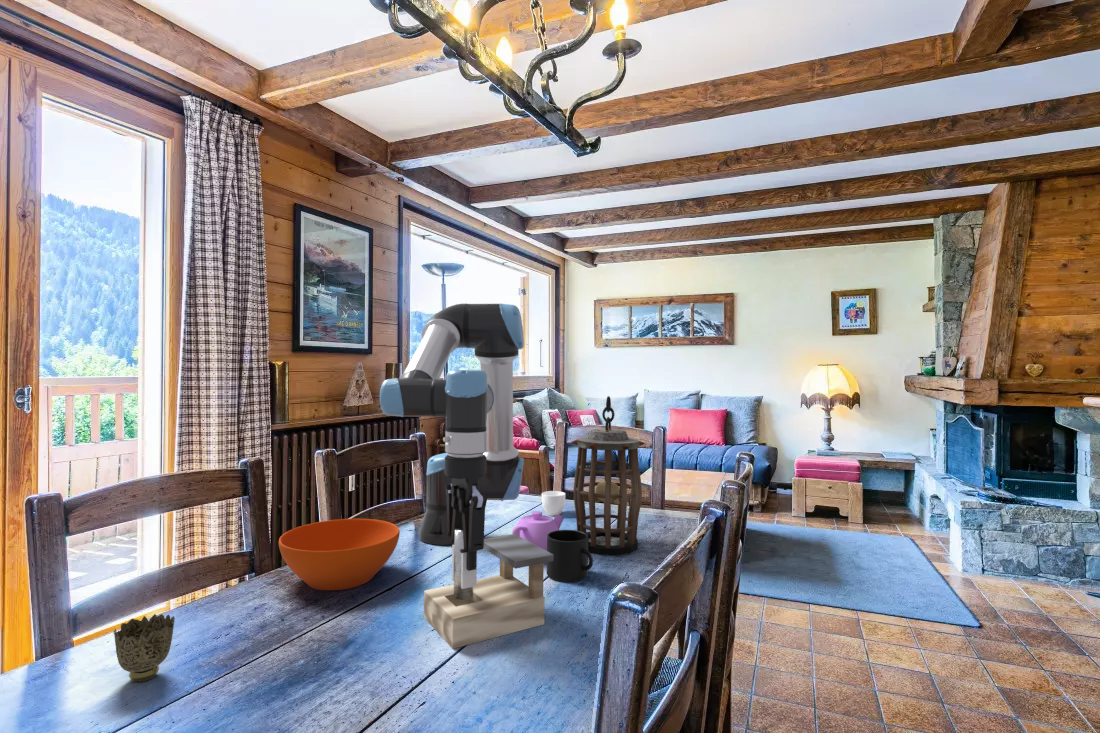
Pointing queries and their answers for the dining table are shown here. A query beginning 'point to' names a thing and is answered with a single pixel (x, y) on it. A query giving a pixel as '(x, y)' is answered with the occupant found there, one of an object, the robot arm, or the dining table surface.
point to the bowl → (339, 551)
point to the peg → (459, 568)
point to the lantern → (608, 489)
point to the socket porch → (493, 597)
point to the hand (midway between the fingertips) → (463, 582)
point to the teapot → (537, 528)
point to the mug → (568, 555)
